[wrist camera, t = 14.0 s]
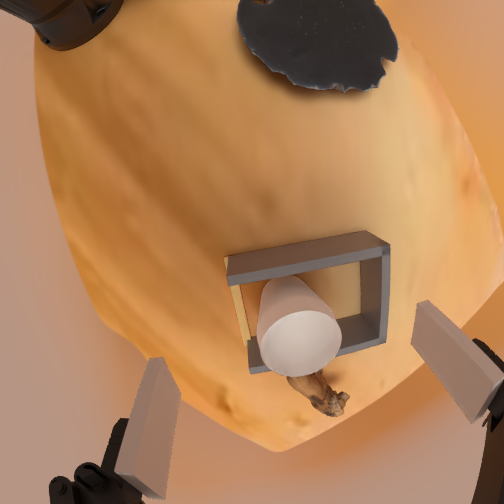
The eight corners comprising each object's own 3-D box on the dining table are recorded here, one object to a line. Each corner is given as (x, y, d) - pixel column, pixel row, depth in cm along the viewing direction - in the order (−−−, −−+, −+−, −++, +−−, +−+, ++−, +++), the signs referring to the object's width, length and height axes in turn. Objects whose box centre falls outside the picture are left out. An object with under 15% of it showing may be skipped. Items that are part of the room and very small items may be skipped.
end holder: (223, 256, 37) (221, 277, 30) (366, 230, 36) (390, 244, 30) (244, 344, 41) (246, 375, 34) (367, 318, 41) (386, 342, 34)
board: (199, 19, 26) (196, 0, 22) (315, -30, 24) (325, -47, 19) (305, 134, 32) (317, 128, 27) (406, 67, 30) (425, 58, 25)
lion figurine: (342, 372, 44) (358, 407, 36) (321, 390, 45) (333, 426, 37) (281, 336, 41) (290, 375, 32) (258, 358, 42) (263, 398, 33)
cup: (294, 331, 41) (311, 385, 29) (241, 308, 39) (242, 362, 28) (327, 283, 38) (359, 327, 27) (273, 254, 37) (288, 294, 25)
